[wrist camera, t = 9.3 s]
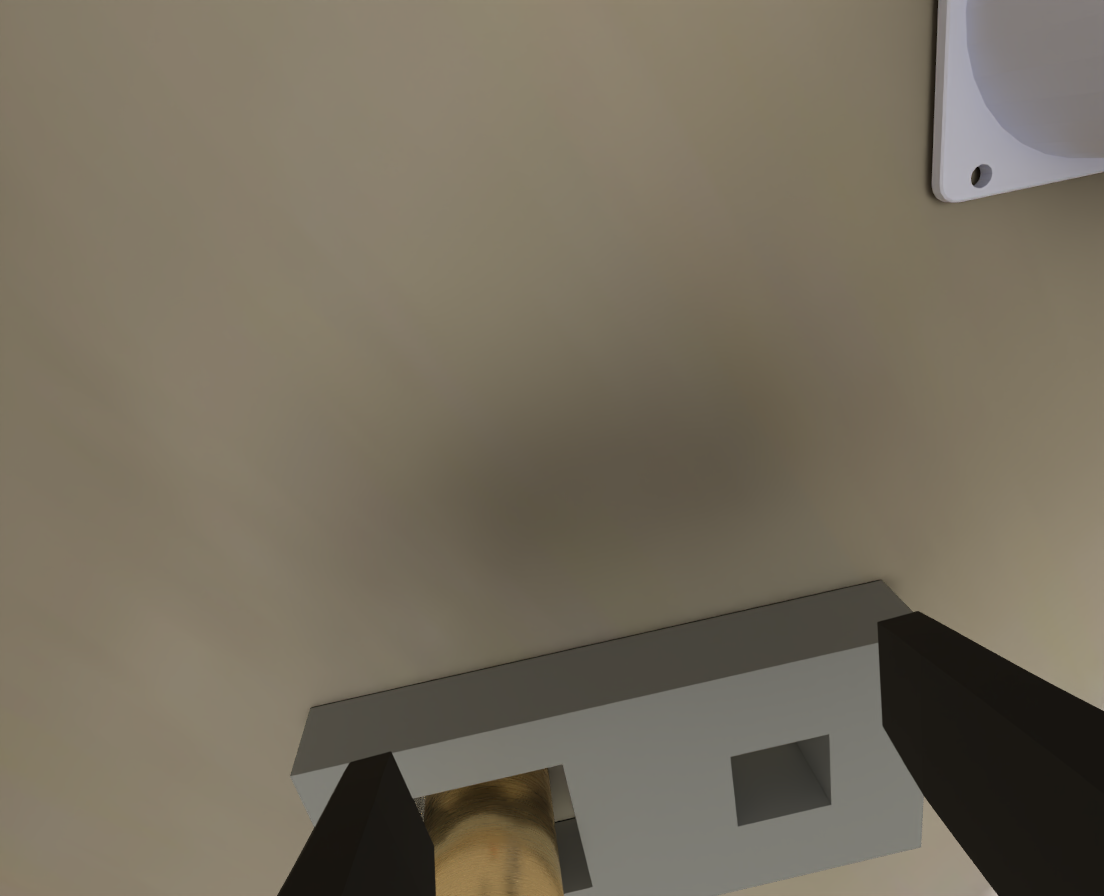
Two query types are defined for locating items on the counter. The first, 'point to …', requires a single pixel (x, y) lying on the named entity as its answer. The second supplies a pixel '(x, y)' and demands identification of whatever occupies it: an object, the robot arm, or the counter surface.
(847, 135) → the counter surface
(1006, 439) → the counter surface
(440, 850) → the gold cylinder
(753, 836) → the header block
